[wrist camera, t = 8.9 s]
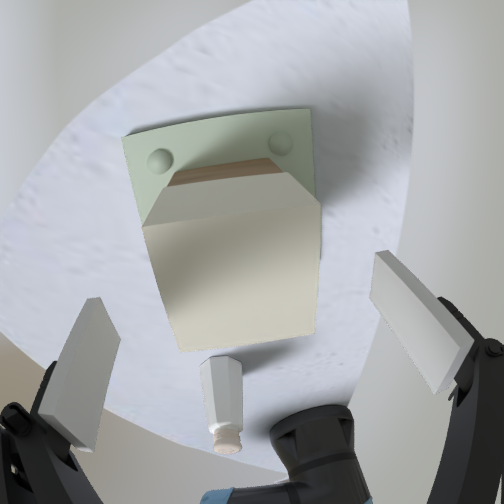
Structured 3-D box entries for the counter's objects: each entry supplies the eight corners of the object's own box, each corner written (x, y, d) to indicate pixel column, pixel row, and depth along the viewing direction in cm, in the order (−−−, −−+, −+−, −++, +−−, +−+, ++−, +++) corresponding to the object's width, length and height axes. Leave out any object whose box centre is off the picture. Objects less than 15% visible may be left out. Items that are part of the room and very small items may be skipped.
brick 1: (276, 240, 24) (292, 277, 19) (192, 254, 24) (188, 294, 19) (268, 157, 21) (286, 174, 16) (174, 172, 20) (162, 193, 15)
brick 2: (290, 276, 19) (314, 333, 14) (185, 290, 19) (180, 352, 14) (288, 172, 16) (321, 204, 11) (163, 187, 15) (141, 227, 10)
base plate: (312, 263, 27) (317, 270, 26) (164, 287, 26) (163, 295, 25) (306, 108, 20) (311, 108, 19) (125, 136, 19) (120, 138, 18)
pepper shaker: (250, 373, 34) (264, 451, 24) (212, 386, 34) (217, 462, 25) (230, 348, 31) (240, 435, 21) (189, 363, 32) (189, 447, 22)
